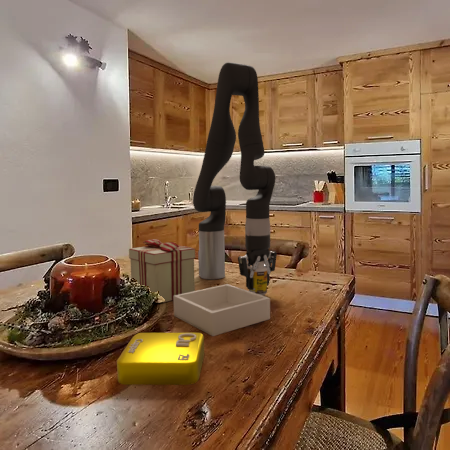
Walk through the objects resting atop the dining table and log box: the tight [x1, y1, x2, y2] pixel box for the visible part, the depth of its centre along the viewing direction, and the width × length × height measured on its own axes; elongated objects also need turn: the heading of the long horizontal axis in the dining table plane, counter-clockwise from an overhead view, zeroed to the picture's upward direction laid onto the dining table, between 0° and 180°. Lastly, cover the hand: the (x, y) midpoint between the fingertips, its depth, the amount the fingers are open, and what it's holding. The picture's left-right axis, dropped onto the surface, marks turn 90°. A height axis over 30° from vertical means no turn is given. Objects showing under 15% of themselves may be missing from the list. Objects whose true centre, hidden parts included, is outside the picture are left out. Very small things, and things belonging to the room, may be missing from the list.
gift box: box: [128, 238, 196, 303], centre depth 128 cm, size 17×18×17 cm
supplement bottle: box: [248, 261, 268, 296], centre depth 124 cm, size 6×6×10 cm
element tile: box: [116, 332, 205, 386], centre depth 80 cm, size 15×15×5 cm
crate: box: [172, 283, 271, 337], centre depth 106 cm, size 18×18×6 cm
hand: (257, 287), depth 125 cm, fingers closed on supplement bottle, 5 cm apart
